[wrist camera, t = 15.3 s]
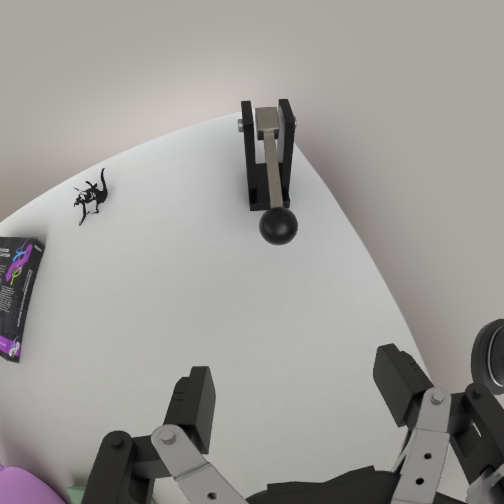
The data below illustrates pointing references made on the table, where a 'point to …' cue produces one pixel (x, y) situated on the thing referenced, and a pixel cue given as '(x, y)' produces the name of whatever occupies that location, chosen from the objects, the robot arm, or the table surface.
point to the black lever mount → (258, 171)
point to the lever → (273, 182)
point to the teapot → (24, 488)
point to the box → (16, 289)
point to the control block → (80, 494)
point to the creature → (99, 196)
